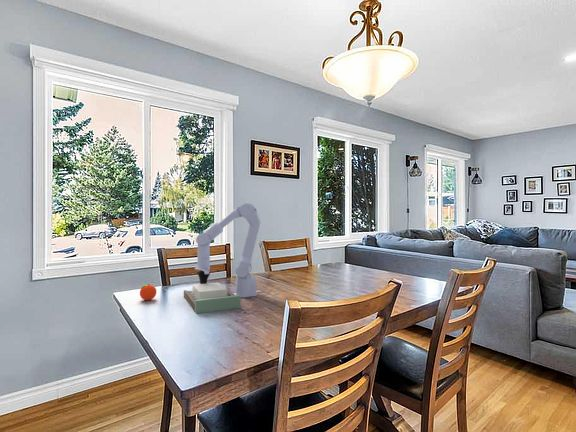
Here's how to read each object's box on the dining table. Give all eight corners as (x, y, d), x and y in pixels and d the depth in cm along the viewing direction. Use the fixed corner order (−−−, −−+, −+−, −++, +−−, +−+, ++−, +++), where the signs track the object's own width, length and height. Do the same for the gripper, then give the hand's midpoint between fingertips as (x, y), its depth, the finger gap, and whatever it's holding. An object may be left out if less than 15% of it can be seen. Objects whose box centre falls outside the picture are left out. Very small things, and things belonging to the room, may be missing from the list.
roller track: (222, 292, 162) (222, 286, 162) (238, 306, 140) (238, 299, 140) (183, 296, 153) (183, 290, 153) (194, 311, 132) (194, 304, 132)
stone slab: (218, 288, 157) (218, 282, 157) (226, 295, 144) (227, 289, 144) (192, 291, 151) (192, 284, 151) (199, 298, 139) (199, 291, 139)
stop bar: (238, 306, 140) (238, 294, 140) (240, 307, 138) (240, 295, 138) (194, 312, 132) (195, 299, 131) (195, 313, 130) (196, 301, 130)
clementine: (136, 303, 142) (136, 286, 142) (137, 298, 149) (137, 283, 149) (156, 301, 145) (156, 285, 145) (156, 297, 152) (156, 282, 152)
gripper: (192, 256, 162) (191, 283, 163) (198, 260, 149) (198, 290, 150) (206, 255, 166) (206, 282, 166) (213, 260, 153) (213, 289, 153)
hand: (203, 286), depth 158 cm, fingers closed
